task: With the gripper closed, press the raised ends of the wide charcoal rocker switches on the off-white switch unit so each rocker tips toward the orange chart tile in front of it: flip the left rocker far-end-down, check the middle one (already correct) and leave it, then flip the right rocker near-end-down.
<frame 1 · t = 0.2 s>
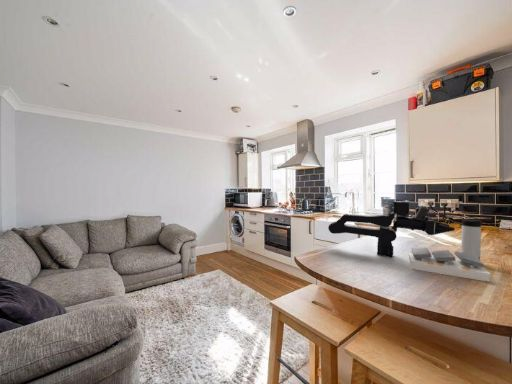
hand: (451, 227, 95), 16 cm above the table, tool horizontal, fingers open, 9 cm apart
rocker a: (420, 252, 95), point 5 cm above the table, hinge at -12.0°
switch unit: (443, 268, 90), on the table
rocker b: (442, 255, 91), point 5 cm above the table, hinge at -12.0°
travel mug: (470, 262, 98), on the table
rocker c: (467, 258, 87), point 5 cm above the table, hinge at 12.0°
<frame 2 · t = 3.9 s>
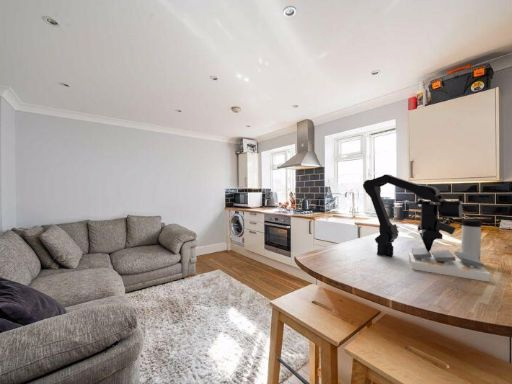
hand: (428, 250, 94), 6 cm above the table, tool pointing down, fingers closed, pressing on rocker a
rocker a: (420, 252, 95), point 5 cm above the table, hinge at -12.0°, touching gripper
everything else where it was.
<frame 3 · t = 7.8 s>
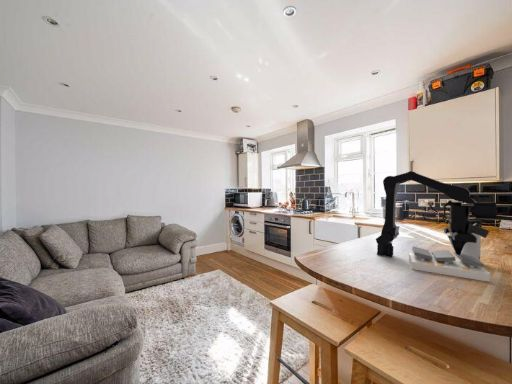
hand: (458, 254, 89), 6 cm above the table, tool pointing down, fingers closed, pressing on rocker c
rocker a: (421, 252, 95), point 5 cm above the table, hinge at 10.2°
rocker c: (467, 258, 87), point 5 cm above the table, hinge at 11.2°, touching gripper
everything else where it was.
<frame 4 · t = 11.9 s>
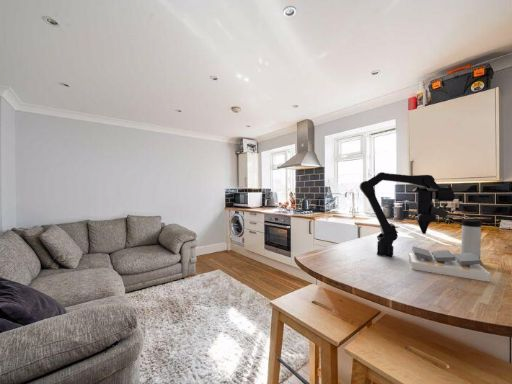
hand: (423, 233, 102), 12 cm above the table, tool pointing down, fingers closed
rocker c: (466, 258, 87), point 5 cm above the table, hinge at -15.2°
everything else where it was.
at the end: rocker a at +10° (first picture: -12°); rocker b at -12° (first picture: -12°); rocker c at -15° (first picture: +12°) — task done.
